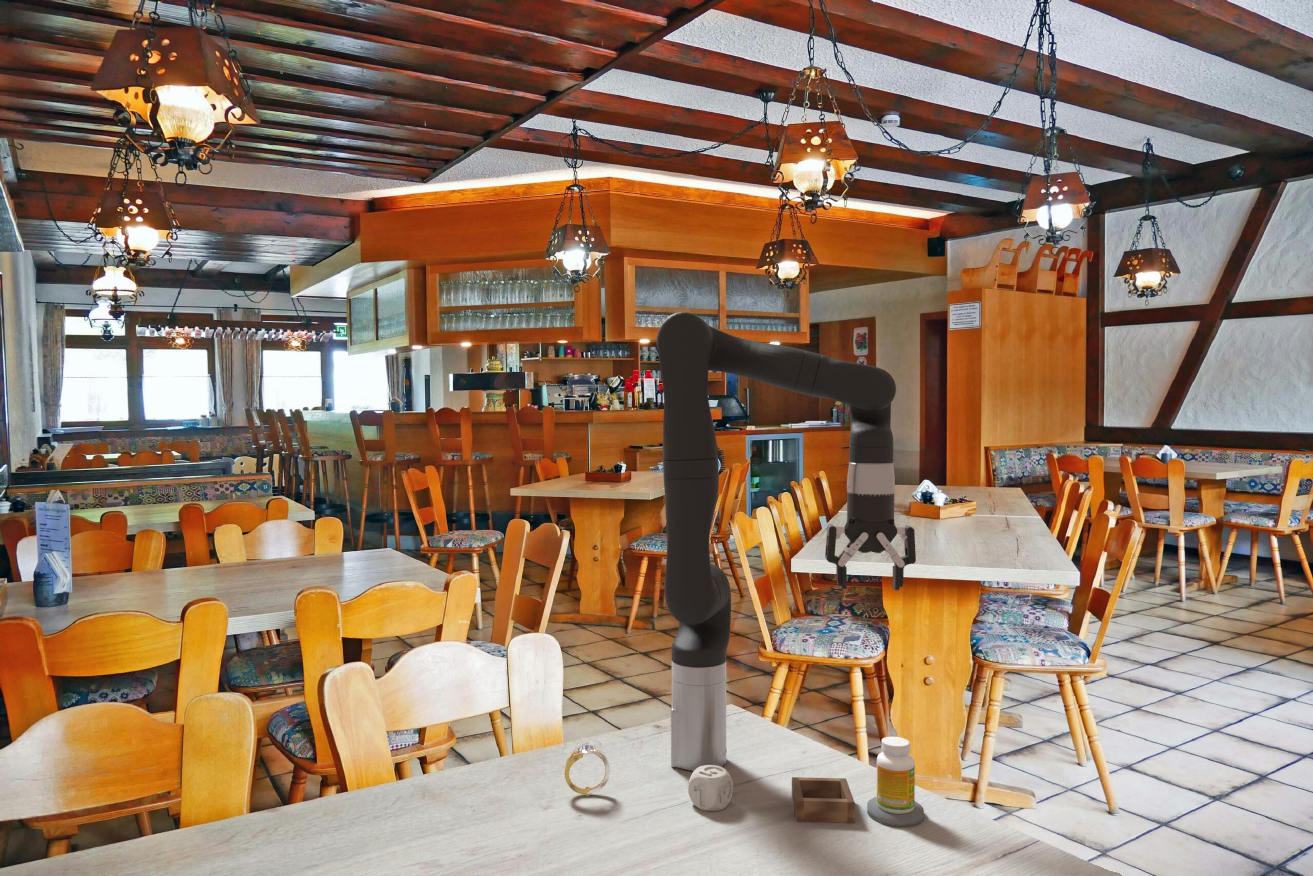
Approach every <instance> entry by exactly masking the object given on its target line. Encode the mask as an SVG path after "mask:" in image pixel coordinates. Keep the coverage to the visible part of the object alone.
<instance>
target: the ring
mask: <svg viewBox="0 0 1313 876" xmlns="http://www.w3.org/2000/svg"><path fill="white" fill-rule="evenodd" d="M588 755H595V756H597V757H598V758H599V759H600V760H601V761H602V763H603V764H604V768H605V772H604V776H603V777H602V778H603V779H602V780H601V781H600V782H599V783H598V784H597V785H595V786H593V787H590V786H585V787H584V788H583V787H580V786H578V785H576V784H575V783H574V782H573V781H572V779H571V776H570V770H571V768H572V766H573V765H574V764H575V763H576V762H577V761H578V760H580V759H582V758H583V757H584V756H588ZM566 759H567V760H566V762H565V766H564V779H565V782H566V784H567V786H568V787H569V788H570V789H571V790H572V791H573V792H575V793H577V794H580V795H584V796H585V797H589V796H590V795H593V794H596V793H599V792H600V791H601V790H603V788H604V787H605V786H606V785H607V783H608V781H609V779H610V775H611V774H610V773H611V766H610V760H609V759H608V757H607V755H606V754H605V753H604V752H602V750H600V749H598V748H597V744H596V743H594V744H590V742H589V741H586V742H582V743H581V745H578V746H577V745H576V746H575V747H574V749H573V751H571V752H570V754H569V756H568V757H567V758H566Z"/></svg>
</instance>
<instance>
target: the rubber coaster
mask: <svg viewBox="0 0 1313 876" xmlns="http://www.w3.org/2000/svg"><path fill="white" fill-rule="evenodd" d="M866 805H867V807H866V808H867V809H866V811H867V812H866V813H867V815H868V816H869V818H871V819H872V820H873V821H876V822H877V823H880V824H882V825H886V826H890V827H898V828H908V827H914V826H917V825H919V824H921V823H922V822H923V821H924V819H925V817H924V816H925V810H924V807H923V806H922V805H921V804H920V803H919V802H917V801H915V805H914V809H913V811H911V812H909V813H905V814H894V813H889V812H886V811H884V810H882V809H881V808H879V807H878V805H877V796H875V797H873V798H870V799H869V800H868V802H867V803H866Z"/></svg>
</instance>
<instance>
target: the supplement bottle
mask: <svg viewBox="0 0 1313 876" xmlns="http://www.w3.org/2000/svg"><path fill="white" fill-rule="evenodd" d="M910 746H911V744H910V741H909V740H908V739H906V738H903V737H900V736H886V737H883V738H882V739H881V747H880V748H881V750H882V751H881V752H880V753H879V754H878V755H877V757H876V797H877V805H878V807H879V808H881V809H882V810H884V811H886V812H889V813H894V814H905V813H909V812H911V811H913V809H914V805H915V802H916V801H915V799H916V798H915V797H916V796H915V785H916V784H915V782H916V780H915V779H916V777H915V773H916V771H915V770H916V769H915V767H916V763H915V759H914V758H913V756H912V755H910V750H911V749H910Z"/></svg>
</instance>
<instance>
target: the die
mask: <svg viewBox="0 0 1313 876" xmlns="http://www.w3.org/2000/svg"><path fill="white" fill-rule="evenodd" d="M687 786H688V787H687V792H688V795H689V798H690V799H689V800H691V803H692V804H693V805H694V806H695V807H696V808H698V809H699V810H702V811H705V812H706V811H707V812H716V811H721V810H723V809H725V808H726V807H727V806H728V805H729V804H730V803H731V802H730V801H731V799H732V796H733V793H734V792H733V791H734V781H733V778H732V776H731V774H730V773H729V771H727V769H725V768H724V767H723V766H722V767H720V766H716V765H704V766H700V767H698V768H696V769H695V770H694V771H692V774H691V775H690V778H689V781H688V785H687Z"/></svg>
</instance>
